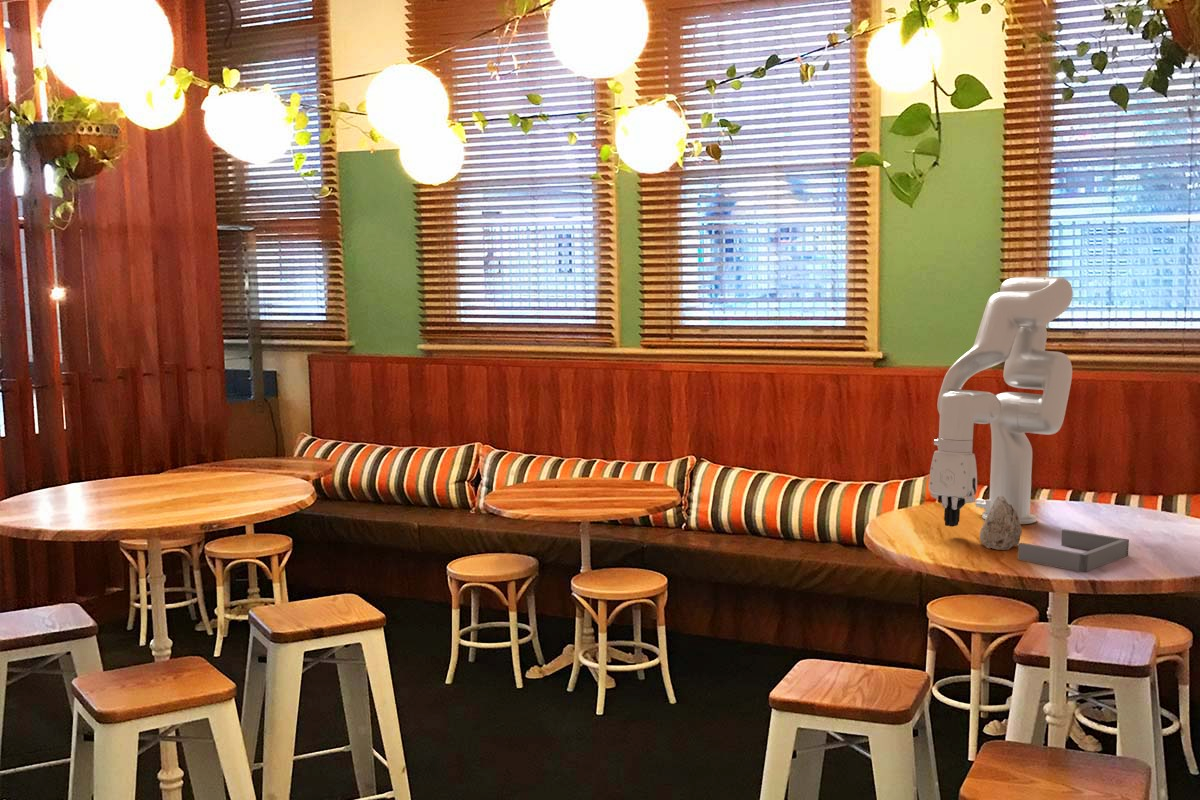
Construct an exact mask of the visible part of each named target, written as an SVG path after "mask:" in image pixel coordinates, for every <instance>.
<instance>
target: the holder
mask: <svg viewBox="0 0 1200 800" xmlns="http://www.w3.org/2000/svg"><path fill="white" fill-rule="evenodd" d="M1129 541H1130V539H1128V538H1121V537H1116V536H1110V535H1109V536H1108V535H1104V534H1103V535H1102V534H1097V533H1092V532H1091V533H1090V532H1085V531H1079V530H1078V531H1077V530H1072V529H1066V528H1064V529H1061V544H1060V546H1065V547H1069V548H1075V549H1081V550H1086V551H1085V552H1082V553H1081V552H1078V551H1077V552H1076V551H1072V550H1071V551H1070V550H1065V549H1059V548H1054V547H1048V546H1042V545H1036V544H1033V543H1032V544H1031V543H1025V542H1019V544H1018V550H1017V551H1018V553H1017V555H1018V557H1017V558H1018V559H1017V560H1019V561H1022V562H1028V563H1032V564H1039V565H1043V566H1044V565H1045V566H1048V567H1049V566H1050V567H1054V568H1055V567H1056V568H1059V569H1060V568H1061V569H1066V570H1071V571H1076V572H1082V573H1086V572H1088V571H1091V570H1094V569H1096V568H1099V567H1101V566H1105V565H1107V564H1110V563H1112V562H1115V561H1117V560H1120V559H1122V558H1125V557H1128V556H1129V549H1130V548H1129V546H1130V545H1129V544H1130V542H1129Z"/></svg>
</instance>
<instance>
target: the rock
mask: <svg viewBox="0 0 1200 800" xmlns="http://www.w3.org/2000/svg"><path fill="white" fill-rule="evenodd" d="M1022 530H1023V529H1022V524H1020V521H1019V517H1018V514H1017V512H1016V511H1015V510H1014V508H1013V505H1011V504H1008V502H1007V501H1006V499H1005V498H1004V497H1003V496H998V497H997V499H996V500H995V501H994V503H993V506H992V508H991V510H990V511H989V514H988V515H987V518H986V520H985V519H984V523H983V524H982V527H981V529H980V531H979V541H980V543H981V545H983V547H985V548H986V549H989V550H996V551H997V550H998V551H1000V550H1003V551H1009V550H1010V549H1011V548H1013V547H1019V543H1020V541H1021V536H1022ZM991 548H992V549H991Z"/></svg>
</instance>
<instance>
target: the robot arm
mask: <svg viewBox="0 0 1200 800" xmlns="http://www.w3.org/2000/svg"><path fill="white" fill-rule="evenodd" d="M1073 296H1074V295H1073V287H1072V284H1071V282H1069V280H1067V279H1066V278H1065V277H1061V276H1017V277H1010V278H1007V279H1006V280H1004V281H1003V282H1002V283H1001V285H1000V289H999V291H998V292H995V293H993V294H992V295H991V296H990V297H989V298H988V299H987V303H986V305H985V309H984V312H983V315H982V317H981V318H982V319H981V321H980V324H979V328H978V331H977V333H976V337H975V340H974V343H973V346H972V347H971V348H970V349H969V350H968V351H967V352H965V353H964V354H963V355H962V356H961V357H959V358H958V359H957V360H956V361H954V363H953V364H952V365H951V366H950V367H949V368H948V370H947V372H946V373H945V375H944V377H943V381H942V383H941V387H940V390H939V393H938V397H937V406H936V407H937V411H938V414H939V422H938V423H939V425H938V429H939V430H938V437H937V439H934V440H933V445H934V446H937V450H935V451H934V452H933V455H932V460H931V465H930V470H929V479H928V491H929V492H930V497H932V498H934V499H935V500H938V501H939V502H940V504H941V505H942V508H943V509H944V516H943V521H944V526H946V527H951V528H952V527H957V526H958V525H959V523H960V518H961V517H960V516H961V515H960V514H961V509H963V507H964V506H965V505H966V504H972V503H975V507H976V508H983V509H984V511H983V512H982V514H981V516H982V519H983V520H984V521H985V520H986V518H987V515H988V514H989V511H990V510H991V508H992V506H993V503H994V501H995V500H996V499H997V497H998V496H1003V497H1004V498H1005V499H1006V501H1007V502H1008V504H1011V505H1013V508H1014V510H1015V511H1016V512H1017V514H1018V517H1019V521H1020V524H1021V525H1030V524H1034V523H1037V516H1036V515H1034V514H1032V513H1031V496H1032V495H1031V493H1032V492H1031V491H1032V473H1033V472H1032V469H1033V448H1032V447H1033V446H1032V444H1031V442H1030V440H1029V438H1028V437H1027V435H1026V433H1027V434H1028V433H1029V434H1035V435H1036V434H1038V435H1048V436H1049V435H1054V434H1056V433H1059V431H1060V430H1061V428H1062V426H1063V423H1064V420H1065V416H1066V411H1067V406H1068V400H1069V396H1070V392H1071V391H1070V390H1071V384H1072V380H1073V379H1072V378H1073V366H1072V362H1071V359H1070V357H1069V356H1068V355H1067V354H1065V353H1063V352H1060V351H1054V350H1053V351H1051V350H1046V345H1047V339H1048V330H1047V328H1046V325H1048V324H1050V323H1051V322H1052V321H1053V320H1055V319H1057V318H1058V317H1059V316H1060V315H1062V314H1063V313H1064V312H1066V310H1067V309H1068V308H1069V306H1070V305H1071V304H1072V299H1073ZM1002 363H1004V367H1003V381H1004V382H1005V384H1007V385H1008V386H1009V387H1012V388H1016V389H1025V390H1035V391H1037V390H1038V391H1039V390H1041V391H1043V393H1042V394H1038V393H1027V392H1018V391H1017V392H1014V391H1005V392H1001V393H997V394H995V393H992V392H989V391H980V390H970V389H962V388H963V387H964V385H965V383H966V382H967V381H968V380H969V379H971V377H973V376H974V375H975V374H978V373H979V372H982V371H984V370H988V369H990V368H992V367H995V366H997V365H999V364H1002ZM974 424H981V425H988V424H990V432H991V433H990V435H991V453H990V454H991V456H990V476H989V477H990V478H989V481H990V482H989V499H988V498H987V499H983V498H976V495H977V492H978V469H977V460H976V455H975V453H973V444H974V443H973V440H974V426H975V425H974Z"/></svg>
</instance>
